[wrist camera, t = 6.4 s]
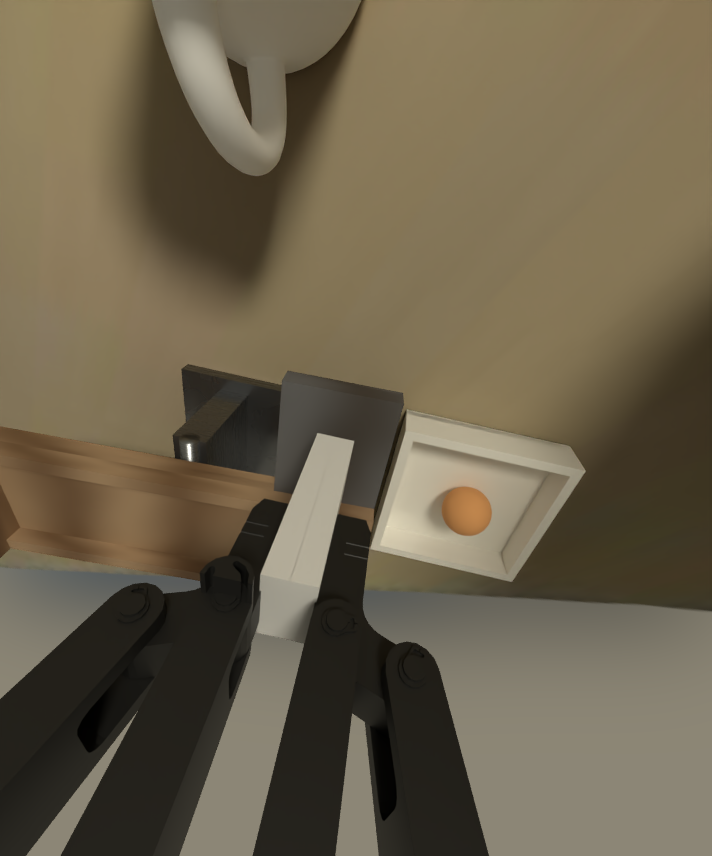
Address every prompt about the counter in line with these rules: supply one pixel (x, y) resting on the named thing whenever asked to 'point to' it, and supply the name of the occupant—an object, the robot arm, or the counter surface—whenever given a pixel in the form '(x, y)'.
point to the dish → (478, 468)
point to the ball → (466, 511)
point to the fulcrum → (229, 421)
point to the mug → (247, 65)
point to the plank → (182, 484)
